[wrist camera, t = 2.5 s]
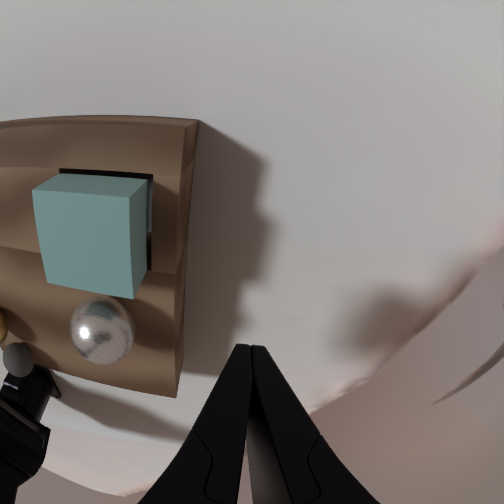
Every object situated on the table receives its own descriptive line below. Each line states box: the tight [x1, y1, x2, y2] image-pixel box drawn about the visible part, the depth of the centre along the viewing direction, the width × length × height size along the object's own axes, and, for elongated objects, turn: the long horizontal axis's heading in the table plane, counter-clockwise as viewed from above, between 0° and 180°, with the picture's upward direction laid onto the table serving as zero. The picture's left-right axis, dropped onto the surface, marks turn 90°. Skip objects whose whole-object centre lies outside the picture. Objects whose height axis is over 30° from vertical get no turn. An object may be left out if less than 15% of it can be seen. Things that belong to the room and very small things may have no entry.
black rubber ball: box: [3, 342, 34, 377], centre depth 18 cm, size 3×3×3 cm
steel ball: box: [70, 296, 135, 365], centre depth 16 cm, size 4×4×4 cm
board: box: [0, 115, 199, 398], centre depth 18 cm, size 20×18×4 cm
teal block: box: [32, 174, 147, 299], centre depth 13 cm, size 5×5×2 cm
